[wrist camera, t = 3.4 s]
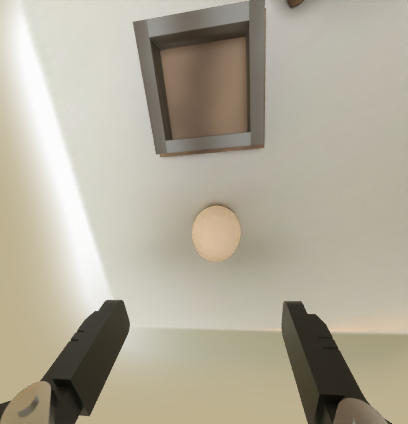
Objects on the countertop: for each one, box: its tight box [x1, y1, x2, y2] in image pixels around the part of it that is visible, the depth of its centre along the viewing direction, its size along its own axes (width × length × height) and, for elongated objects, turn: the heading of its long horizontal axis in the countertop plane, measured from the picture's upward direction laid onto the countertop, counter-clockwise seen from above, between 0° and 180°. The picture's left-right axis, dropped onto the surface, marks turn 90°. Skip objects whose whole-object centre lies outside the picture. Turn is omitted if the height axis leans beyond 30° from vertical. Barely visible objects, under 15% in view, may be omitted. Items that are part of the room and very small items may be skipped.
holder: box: [133, 0, 266, 157], centre depth 17 cm, size 10×10×4 cm
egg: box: [192, 206, 241, 262], centre depth 19 cm, size 5×5×7 cm
